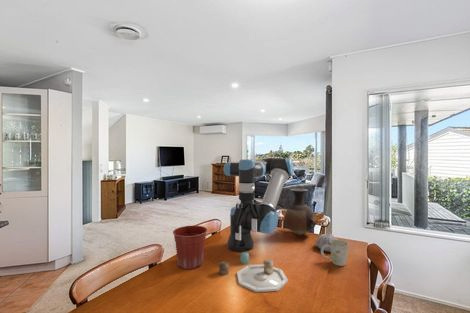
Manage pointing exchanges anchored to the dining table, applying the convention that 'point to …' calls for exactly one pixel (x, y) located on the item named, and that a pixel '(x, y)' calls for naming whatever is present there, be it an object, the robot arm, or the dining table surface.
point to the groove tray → (261, 278)
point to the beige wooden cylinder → (268, 266)
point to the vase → (299, 215)
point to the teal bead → (244, 258)
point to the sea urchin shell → (325, 241)
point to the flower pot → (190, 246)
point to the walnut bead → (223, 268)
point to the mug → (337, 252)
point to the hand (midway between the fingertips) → (246, 235)
